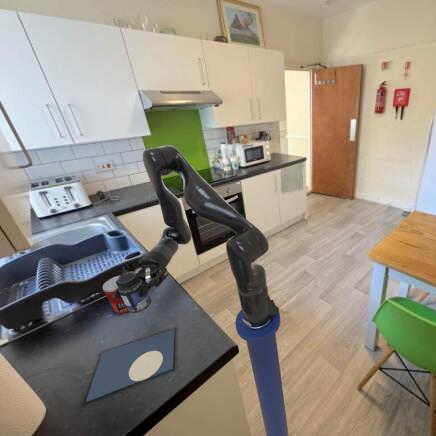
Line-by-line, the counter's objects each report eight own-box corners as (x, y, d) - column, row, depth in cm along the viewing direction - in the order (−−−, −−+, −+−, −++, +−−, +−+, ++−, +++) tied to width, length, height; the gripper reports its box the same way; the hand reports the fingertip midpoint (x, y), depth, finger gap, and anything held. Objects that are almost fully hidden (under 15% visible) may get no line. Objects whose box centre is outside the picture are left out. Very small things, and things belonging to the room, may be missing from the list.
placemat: (175, 329, 77) (174, 328, 77) (173, 369, 65) (172, 368, 65) (102, 353, 71) (101, 352, 70) (86, 403, 59) (85, 402, 58)
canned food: (121, 317, 83) (108, 293, 78) (110, 308, 87) (97, 285, 82) (143, 302, 88) (132, 279, 83) (132, 295, 92) (121, 272, 87)
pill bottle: (153, 296, 75) (141, 268, 70) (149, 310, 70) (136, 281, 65) (132, 301, 74) (118, 273, 69) (126, 316, 68) (110, 287, 64)
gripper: (132, 252, 80) (96, 287, 65) (174, 249, 80) (148, 284, 65) (140, 269, 84) (107, 306, 69) (180, 267, 83) (157, 304, 68)
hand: (127, 295), depth 67 cm, fingers closed on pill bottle, 6 cm apart
